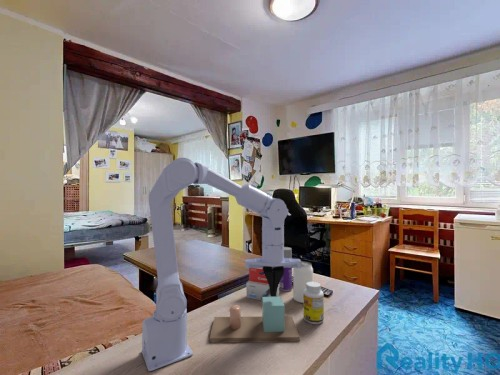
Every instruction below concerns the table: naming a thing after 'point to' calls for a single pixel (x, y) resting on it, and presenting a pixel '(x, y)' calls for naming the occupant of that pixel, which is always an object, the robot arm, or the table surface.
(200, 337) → the table surface
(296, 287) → the can
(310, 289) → the supplement bottle
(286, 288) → the container
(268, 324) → the teal rectangular block
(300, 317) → the table surface
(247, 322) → the board
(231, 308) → the round post
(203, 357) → the table surface
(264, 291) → the ink cartridge box
